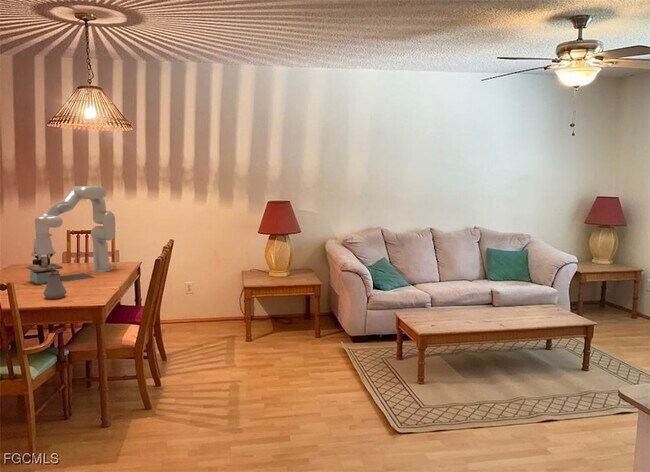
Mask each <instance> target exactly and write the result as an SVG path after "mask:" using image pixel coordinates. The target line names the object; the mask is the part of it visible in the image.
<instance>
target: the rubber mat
mask: <svg viewBox="0 0 650 472" xmlns="http://www.w3.org/2000/svg"><path fill="white" fill-rule="evenodd" d="M93 278H96V277H95V276H92V275H89V274H86V273H75V274H66V275H61V276H60V280H61V282H71V281H78V280H79V281H80V280H86V279H87V280H88V279H93Z"/></svg>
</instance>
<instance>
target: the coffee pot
mask: <svg viewBox="0 0 650 472" xmlns="http://www.w3.org/2000/svg"><path fill="white" fill-rule="evenodd" d="M50 268H51V274H50V275H48V277H49V281H48V283H46V287H45V288H44V291H43V295H44V297H46V298H47V299H49V300H58V299H62V298H63V297H64V296H65V295H66V294H67V290H66V288H65V286H64V284H63V283H62V282H63V281H62V280H60V276H62V274H61V273H59V274H54V273H53V269H54V268H53V267H50ZM50 268H49V269H50Z"/></svg>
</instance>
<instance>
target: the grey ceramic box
mask: <svg viewBox="0 0 650 472" xmlns="http://www.w3.org/2000/svg"><path fill="white" fill-rule="evenodd" d="M53 273H54V274H60V270H59V269H55V270H53ZM50 274H51V270H47V271H38V272H34V271H30V270H29V278H30V279H29V281H30V283H33V284H34V285H37V286H38V285H39V286H41V285H44V284H47V283H48V281H49V277H48V275H50Z"/></svg>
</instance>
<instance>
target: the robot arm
mask: <svg viewBox="0 0 650 472" xmlns="http://www.w3.org/2000/svg"><path fill="white" fill-rule="evenodd" d="M106 195H107V189H106V188H105V187H104V186H101V185H85V186H84V185H80V186H79V185H75V186H74V187H72V188H71V189H70V190H69V191H68V192H67V194H66V195H65V196H64V197H63V198H62V199H61V200H60V201H59V202H57V203H55V204H54V205H52V206H51V207H50V208H48V209H47V210H46V211H45V212H44V213H43V215H42V216H36V217H35V218H34V231H35V238H34V240H33V251H32V253H31V256H32V257H34V259H38V265H39V266H42V262H41V259H40V258H41V257H42V255H43V256H44V255H46V257H47V259H48V265H50V264H51V258H52V257H53V256H54V255H55V254H56V251H55V250H54V249H53V242H52V238H51V237H52V236H53V235H52V233H50V228H60V227H61V226H63V218H62V217H60V215H62V214H65V213H67V212H70V211H71V210H73V209H74V208H75V207H76V206H77V205H78V203H79V202H80V201H81V200H90V202H91V204H92V207H91V208H92V220H93V222H94V224H97V225H96V226H94V227H92V228H91V231H90V236H91V240H92V247H93V248H92V251H93V256H92V257H93V268H92V269H91V272H93V273H94V272H95V273H103V272H111V271H112V267H113V268H115V267H116V264H115V263H109V245H108V241H112V240H113V239H114V238H115V237H116V217H115V214H114V213H113V212H112V211H111V210H107V206H106V205H107V204H106V200H105V197H106Z"/></svg>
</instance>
